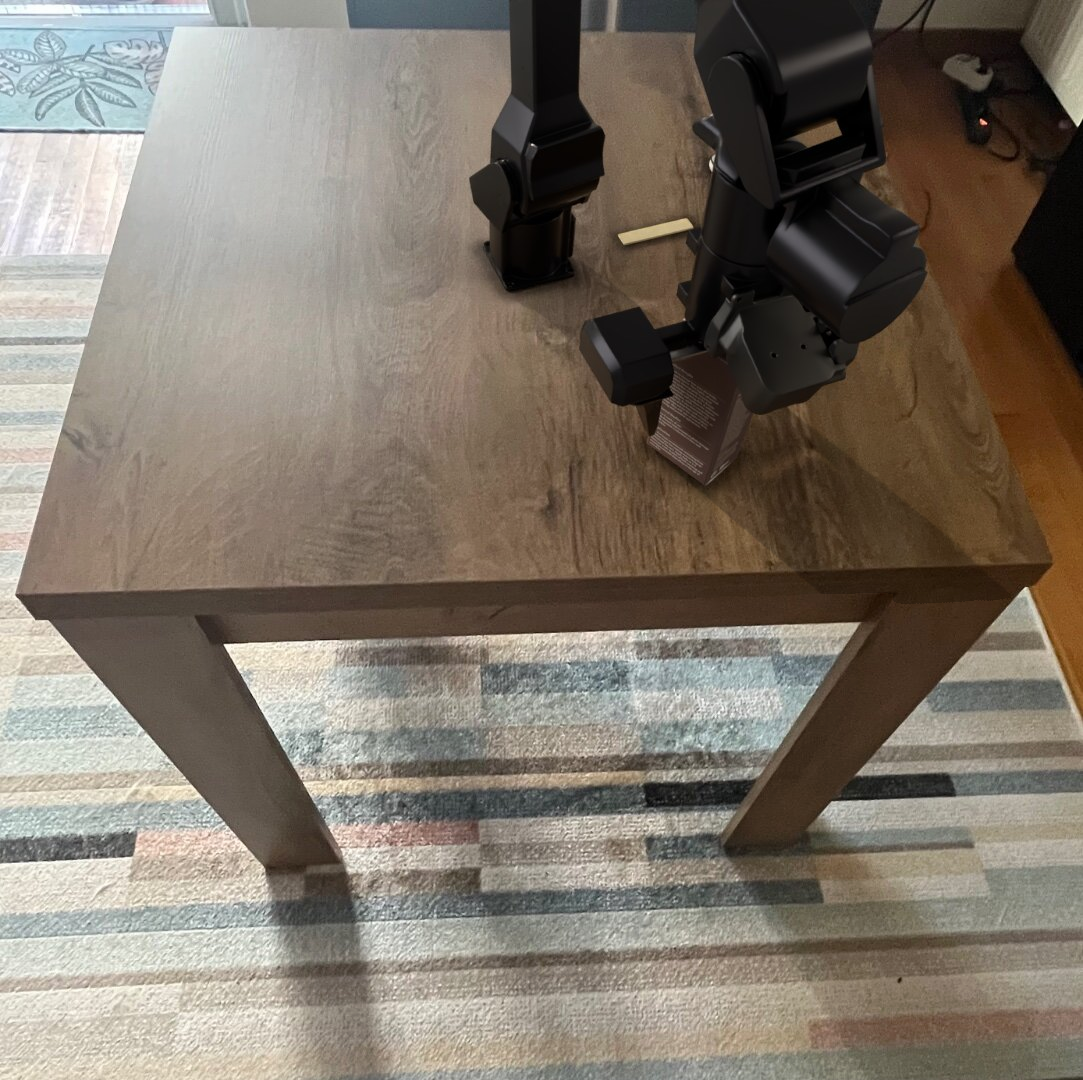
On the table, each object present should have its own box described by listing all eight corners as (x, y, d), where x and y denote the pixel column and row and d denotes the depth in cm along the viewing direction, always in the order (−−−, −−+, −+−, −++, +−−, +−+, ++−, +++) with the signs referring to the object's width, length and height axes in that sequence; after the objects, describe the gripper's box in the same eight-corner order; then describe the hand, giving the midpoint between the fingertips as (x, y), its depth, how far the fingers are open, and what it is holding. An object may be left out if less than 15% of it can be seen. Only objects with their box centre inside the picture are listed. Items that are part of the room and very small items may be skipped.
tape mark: (624, 245, 85) (624, 243, 85) (617, 235, 86) (618, 234, 85) (693, 229, 86) (693, 227, 86) (686, 219, 87) (686, 217, 87)
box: (740, 455, 72) (782, 341, 62) (704, 488, 70) (740, 377, 60) (679, 411, 74) (709, 295, 64) (642, 443, 72) (667, 327, 62)
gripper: (667, 367, 49) (636, 538, 62) (962, 284, 53) (875, 459, 66) (583, 239, 55) (570, 419, 68) (855, 173, 59) (794, 354, 72)
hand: (705, 414), depth 68 cm, fingers open, 9 cm apart
